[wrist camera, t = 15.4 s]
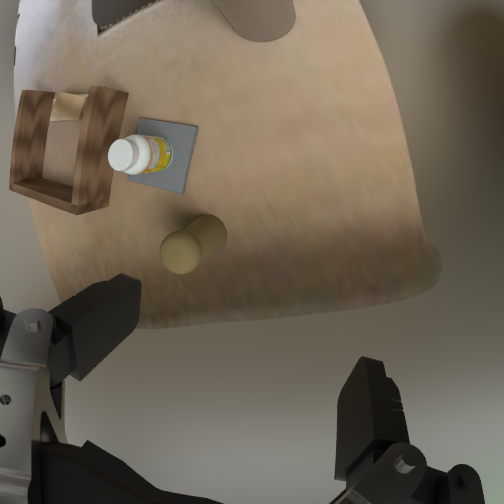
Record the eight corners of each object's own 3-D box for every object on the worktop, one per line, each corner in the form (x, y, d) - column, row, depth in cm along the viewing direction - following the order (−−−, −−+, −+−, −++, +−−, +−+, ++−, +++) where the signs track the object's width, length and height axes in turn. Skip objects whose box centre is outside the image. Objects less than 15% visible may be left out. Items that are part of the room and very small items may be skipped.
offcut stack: (64, 93, 42) (49, 91, 38) (106, 93, 41) (90, 90, 37) (58, 121, 44) (43, 121, 40) (99, 125, 43) (83, 124, 39)
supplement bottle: (179, 144, 40) (143, 141, 31) (166, 177, 42) (128, 183, 33) (151, 132, 40) (111, 128, 31) (139, 164, 42) (99, 167, 33)
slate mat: (142, 118, 41) (139, 118, 40) (198, 127, 40) (196, 126, 39) (130, 179, 44) (127, 179, 43) (183, 193, 43) (181, 194, 42)
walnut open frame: (50, 93, 43) (22, 90, 35) (128, 93, 40) (97, 85, 33) (37, 183, 50) (9, 189, 42) (108, 206, 47) (77, 215, 39)
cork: (181, 229, 45) (143, 250, 34) (210, 206, 43) (175, 221, 32) (205, 261, 45) (173, 290, 35) (235, 239, 43) (208, 264, 33)
